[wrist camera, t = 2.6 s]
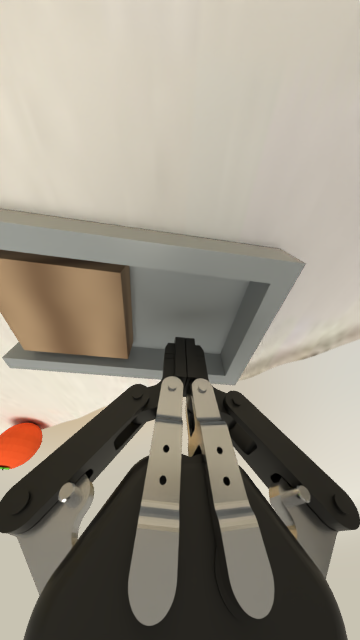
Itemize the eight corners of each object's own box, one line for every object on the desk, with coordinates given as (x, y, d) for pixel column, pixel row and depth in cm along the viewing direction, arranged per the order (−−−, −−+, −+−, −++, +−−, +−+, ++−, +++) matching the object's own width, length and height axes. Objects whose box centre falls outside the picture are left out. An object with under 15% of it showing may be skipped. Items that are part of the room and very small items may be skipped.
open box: (280, 248, 14) (305, 263, 11) (228, 360, 22) (235, 385, 19) (-46, 202, 12) (-115, 205, 9) (33, 343, 20) (9, 367, 17)
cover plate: (129, 261, 14) (120, 273, 12) (133, 341, 19) (128, 358, 17) (-3, 244, 13) (-36, 254, 11) (40, 333, 19) (24, 350, 17)
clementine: (48, 434, 38) (25, 477, 32) (12, 428, 36) (-20, 473, 30) (51, 421, 33) (25, 468, 28) (10, 413, 31) (-27, 461, 26)
